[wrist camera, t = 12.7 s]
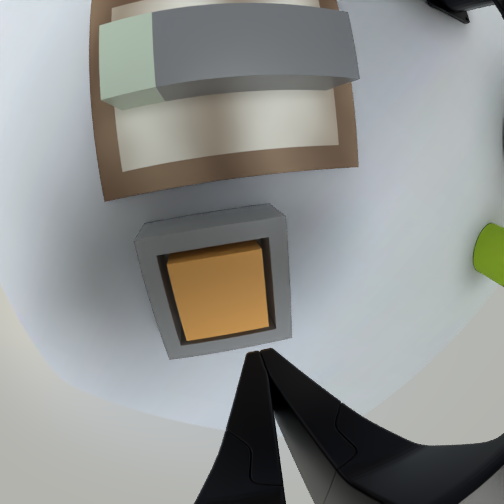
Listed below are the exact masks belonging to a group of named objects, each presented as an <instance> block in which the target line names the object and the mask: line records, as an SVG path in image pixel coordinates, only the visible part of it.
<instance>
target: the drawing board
mask: <svg viewBox="0 0 504 504" xmlns="http://www.w3.org/2000/svg"><path fill="white" fill-rule="evenodd" d="M223 3H276V4H291V5H302V6H311V7H319V8H326V9H332V10H338V11H339V9H338V5H337V1H336V0H92V3H91V16H90V38H89V71H90V94H91V108H92V120H93V130H94V138H95V146H96V154H97V161H98V167H99V173H100V179H101V185H102V190H103V196H104V201H105V202H106V201H110V200H115V199H119V198H124V197H129V196H134V195H138V194H143V193H148V192H154V191H159V190H164V189H170V188H176V187H181V186H187V185H193V184H200V183H206V182H213V181H219V180H226V179H234V178H241V177H249V176H257V175H266V174H275V173H285V172H295V171H307V170H319V169H333V168H349V167H358V149H357V134H356V122H355V111H354V101H353V92H352V84H351V82H349V83H346V84H343V85H340V86H337V87H334V88H332V89H329V90H264V91H246V92H233V93H222V94H213V95H205V96H197V97H190V98H183V99H177V100H171V101H165V102H160V103H155V104H150V105H145V106H140V107H136V108H131V109H127V110H123V111H122V110H120V109H118V108H116V107H114V106H112V105H110V104H108V103H106V102H104V101H102V100H101V94H100V75H99V26H100V25H103V24H106V23H110V22H113V21H117V20H120V19H124V18H128V17H132V16H137V15H141V14H146V13H151V12H156V11H161V10H167V9H174V8H181V7H188V6H197V5H208V4H223Z"/></svg>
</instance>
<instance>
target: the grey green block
mask: <svg viewBox="0 0 504 504" xmlns="http://www.w3.org/2000/svg"><path fill="white" fill-rule="evenodd" d="M99 75H100V94H101V100H102V101H104V102H106V103H108V104H110V105H112V106H114V107H116V108H118V109H120V110H122V111H123V110H127V109H131V108H136V107H140V106H145V105H150V104H155V103H160V102H165V101H171V100H177V99H183V98H190V97H197V96H205V95H213V94H222V93H233V92H246V91H264V90H329V89H332V88H334V87H337V86H340V85H343V84H346V83H349V82H352V81H355V80H358V79H360V77H359V70H358V64H357V57H356V51H355V45H354V40H353V35H352V30H351V25H350V20H349V15H348V12H344V11H338V10H332V9H326V8H319V7H311V6H302V5H291V4H276V3H223V4H208V5H197V6H188V7H181V8H174V9H167V10H161V11H156V12H151V13H146V14H141V15H137V16H132V17H128V18H124V19H120V20H117V21H113V22H110V23H106V24H103V25H100V26H99Z"/></svg>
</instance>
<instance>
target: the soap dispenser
mask: <svg viewBox="0 0 504 504" xmlns="http://www.w3.org/2000/svg"><path fill="white" fill-rule="evenodd" d="M473 263H474V267H475V269H476V270H477V271H478V272H480V273H482V274H483V275H485V276H487V277H488V278H490V279H492V280H493V281H495V282H497V283H498V284H500V285H502V286H503V287H504V228H503V227H501V226H498V225H496V224H493V223H490V224H488V225H487V226H486V227H485V228H484V229H483V230H482V232H481V233H480V235H479V237H478V240H477V242H476V246H475V250H474V256H473Z"/></svg>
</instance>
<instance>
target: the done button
mask: <svg viewBox="0 0 504 504" xmlns="http://www.w3.org/2000/svg"><path fill="white" fill-rule="evenodd" d="M167 268H168V272H169V276H170V280H171V284H172V288H173V292H174V296H175V300H176V304H177V308H178V312H179V315H180V319H181V323H182V326H183V330H184V333H185V337H186V340H187V341H190V340H197V339H203V338H209V337H215V336H221V335H227V334H233V333H238V332H244V331H249V330H254V329H259V328H264V327H269V321H268V310H267V299H266V289H265V278H264V267H263V257H262V249H261V247H260V246H259V244H258V243H257V241H256V239H254V240H248V241H241V242H235V243H229V244H223V245H217V246H211V247H205V248H199V249H193V250H187V251H181V252H175V253H169V257H168V262H167Z"/></svg>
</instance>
